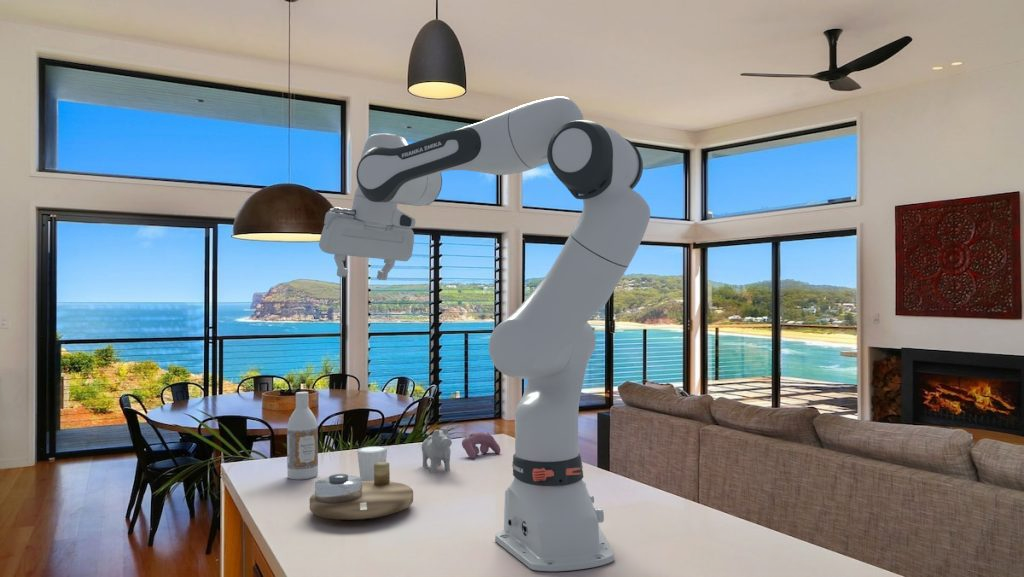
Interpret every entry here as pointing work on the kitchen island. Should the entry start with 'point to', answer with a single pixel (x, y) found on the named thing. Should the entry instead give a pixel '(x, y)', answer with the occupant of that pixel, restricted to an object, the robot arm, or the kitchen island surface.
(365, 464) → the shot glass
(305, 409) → the bath foam
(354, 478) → the cover
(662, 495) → the kitchen island surface
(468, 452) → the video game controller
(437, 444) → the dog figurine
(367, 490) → the turntable
